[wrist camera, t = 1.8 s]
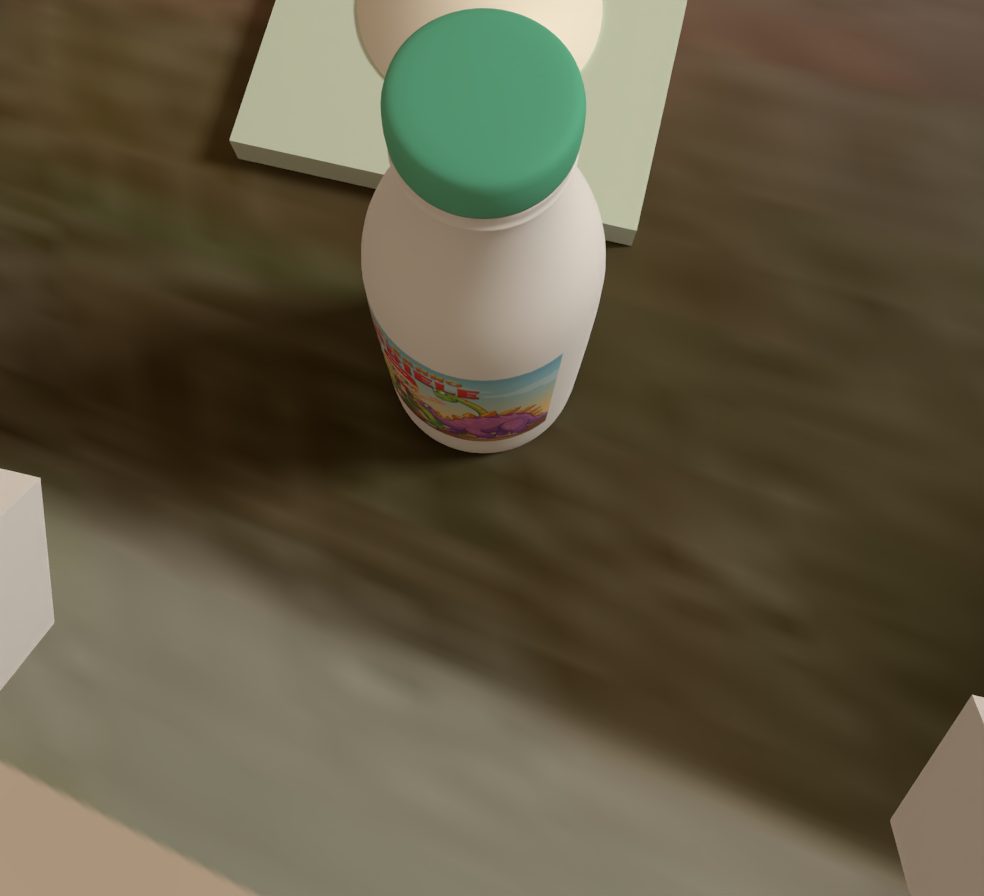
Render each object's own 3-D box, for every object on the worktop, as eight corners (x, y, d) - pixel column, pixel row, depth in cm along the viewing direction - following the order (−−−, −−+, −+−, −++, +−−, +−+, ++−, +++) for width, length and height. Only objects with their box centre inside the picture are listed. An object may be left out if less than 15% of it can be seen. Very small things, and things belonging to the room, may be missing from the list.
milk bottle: (459, 252, 41) (436, -117, 21) (608, 344, 40) (726, 48, 21) (357, 392, 40) (233, 134, 20) (509, 492, 39) (535, 324, 19)
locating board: (705, -92, 45) (713, -120, 43) (631, 246, 41) (637, 229, 39) (344, -166, 46) (339, -196, 44) (238, 158, 42) (228, 138, 40)
